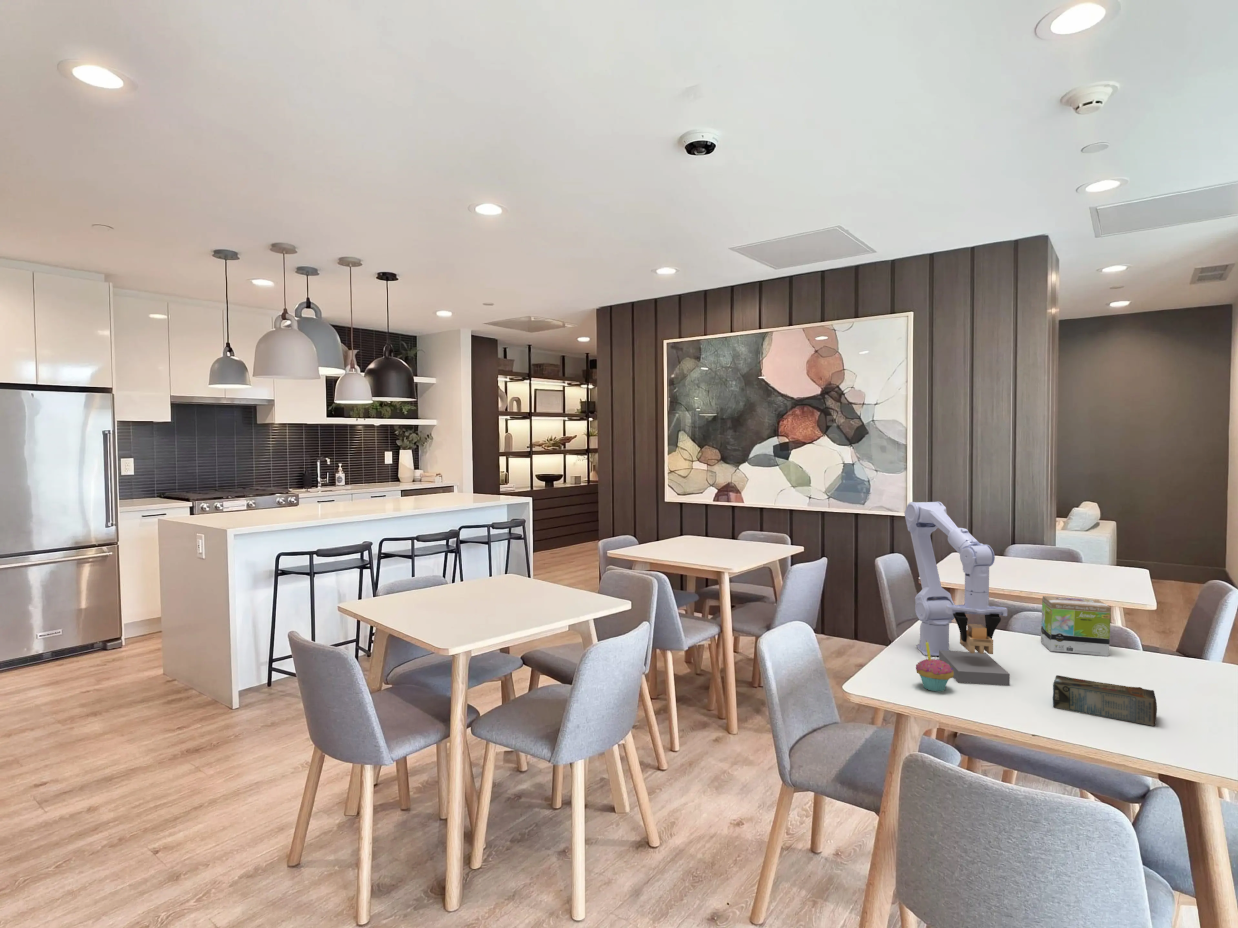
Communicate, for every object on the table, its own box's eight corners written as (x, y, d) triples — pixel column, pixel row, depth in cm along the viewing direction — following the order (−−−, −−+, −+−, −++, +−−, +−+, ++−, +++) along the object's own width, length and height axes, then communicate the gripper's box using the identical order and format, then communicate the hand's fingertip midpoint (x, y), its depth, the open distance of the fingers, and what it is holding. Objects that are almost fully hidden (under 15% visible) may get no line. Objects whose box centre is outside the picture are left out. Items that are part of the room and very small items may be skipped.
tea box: (1050, 652, 201) (1051, 602, 200) (1040, 642, 210) (1041, 594, 210) (1110, 657, 196) (1111, 605, 196) (1097, 647, 206) (1098, 598, 205)
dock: (939, 660, 193) (939, 650, 193) (985, 663, 191) (985, 652, 191) (958, 682, 176) (958, 671, 175) (1009, 685, 173) (1009, 673, 173)
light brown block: (967, 634, 185) (967, 623, 185) (981, 635, 185) (981, 624, 185) (972, 638, 182) (972, 627, 181) (986, 639, 181) (986, 628, 181)
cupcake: (914, 690, 170) (914, 642, 170) (917, 680, 178) (917, 633, 177) (952, 696, 166) (953, 647, 166) (954, 685, 174) (954, 638, 173)
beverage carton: (1054, 698, 166) (1055, 670, 165) (1155, 716, 154) (1156, 687, 154) (1051, 708, 159) (1052, 680, 159) (1157, 728, 148) (1158, 698, 148)
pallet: (959, 643, 188) (960, 629, 188) (981, 644, 187) (981, 630, 187) (970, 653, 179) (970, 638, 179) (993, 654, 178) (993, 639, 178)
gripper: (951, 592, 180) (951, 644, 180) (1012, 594, 177) (1011, 646, 178) (944, 587, 187) (943, 636, 187) (1002, 588, 184) (1001, 639, 185)
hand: (976, 641), depth 183 cm, fingers closed on pallet, 5 cm apart
